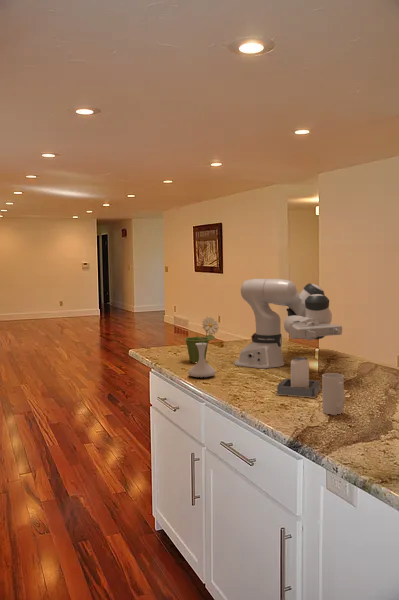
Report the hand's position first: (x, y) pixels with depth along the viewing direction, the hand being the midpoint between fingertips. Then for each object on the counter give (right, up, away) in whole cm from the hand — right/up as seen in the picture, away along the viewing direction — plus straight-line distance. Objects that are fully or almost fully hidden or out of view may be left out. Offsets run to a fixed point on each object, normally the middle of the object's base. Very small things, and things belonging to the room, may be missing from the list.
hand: (327, 333), depth 205 cm
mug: (-5, -24, -34) cm, 41 cm away
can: (-12, -21, -7) cm, 25 cm away
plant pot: (-49, -17, +50) cm, 72 cm away
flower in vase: (-46, -19, +21) cm, 54 cm away
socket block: (-12, -21, -7) cm, 25 cm away
